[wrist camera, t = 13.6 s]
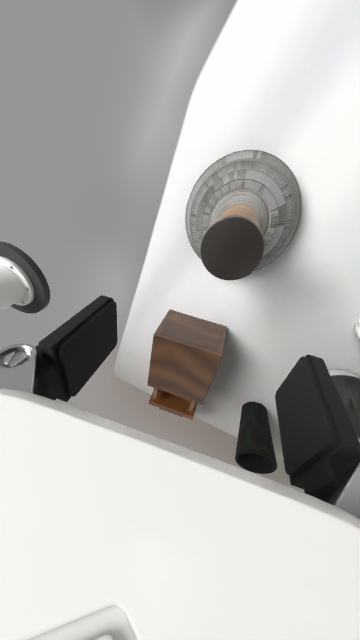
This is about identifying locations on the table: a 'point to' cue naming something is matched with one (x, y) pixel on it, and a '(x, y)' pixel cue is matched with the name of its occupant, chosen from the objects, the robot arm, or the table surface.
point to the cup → (255, 440)
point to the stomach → (358, 329)
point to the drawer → (173, 403)
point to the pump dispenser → (348, 394)
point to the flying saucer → (247, 198)
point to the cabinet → (185, 355)
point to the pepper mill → (233, 244)
